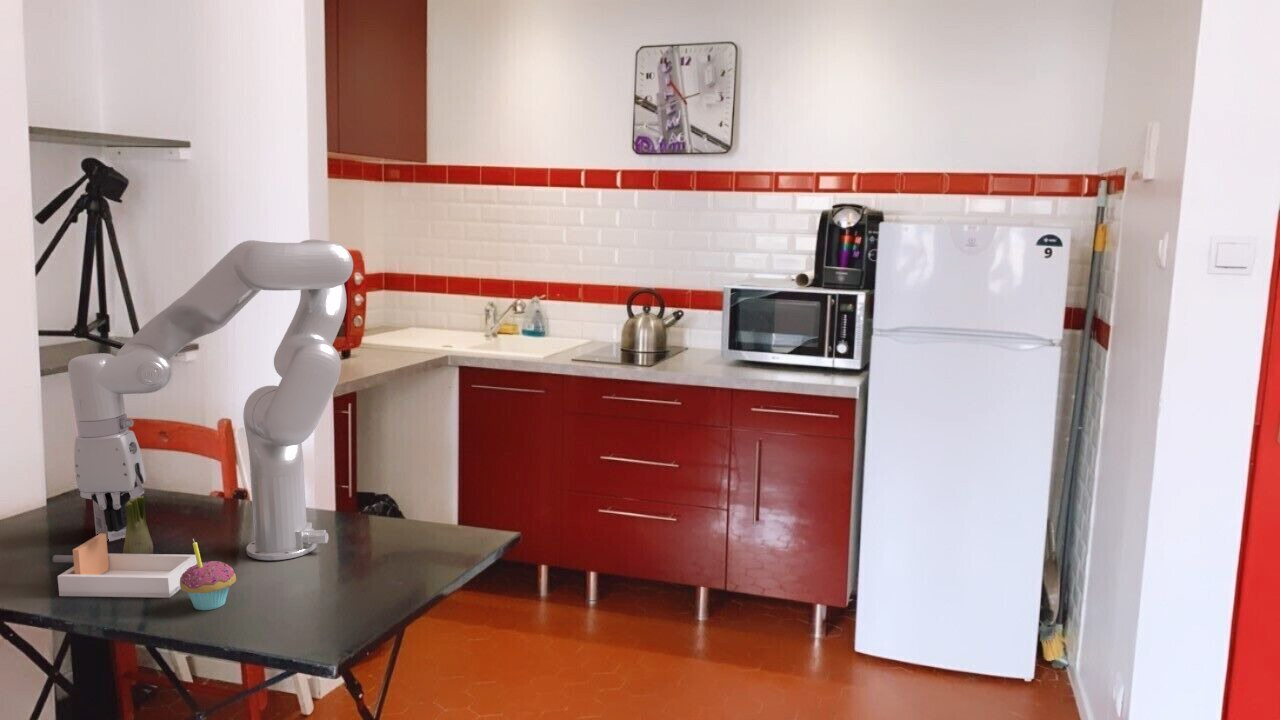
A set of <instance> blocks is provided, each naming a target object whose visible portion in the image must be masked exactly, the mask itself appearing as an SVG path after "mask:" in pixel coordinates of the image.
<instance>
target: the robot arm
mask: <svg viewBox="0 0 1280 720" xmlns="http://www.w3.org/2000/svg"><path fill="white" fill-rule="evenodd" d="M353 270H354V260H353V257H352V255H351V253H350V251H349V250H348V249H347V248H346V247H345V246H343V245H342V244H340V243H338V242H334V241H329V240H321V239H306V240H303V241H300V242H269V241H263V240H255V239H253V240H251V239H250V240H245V241H243V242H240V243H239V244H236V245H235V246H234V247H233V248H232V249H231V250H230V251H229V252H227V253H226V255H224V256H223V257H222V258H221V259H220V260H219V261H218V262H217V263H216V264H215V265H214V266H213V267H212V268H210V269H209V271H208V272H206V274H205V275H203V276H202V277H201V278H200V279H199V280H198V281H197V282H196V283H195V284H194V285H193V286H191V288H190V289H188V290H187V291H186V292H185V293H184V294H183V295H182V296H180V297H178V298H177V299H176V300H175V301H173V302H172V303H171V304H170V305H168V306H167V307H166V308H164V309H163V310H162V311H160V312H159V313H158V314H157V315H155V316H154V317H152V318H151V319H150V320H149V321H147V322H146V323H145V324H144V325H143V326H142V327H141V328H140V329H139V330H138V331H137V332H136V333H135V334H134V335H133V336H131V337H130V338H129V339H128V340H127V341H126V342H125V344H123V346H122V347H121V348H120V349H119V350H118V352H117V353H116V355H113V354H111V353H105V352H103V353H102V352H99V353H89V354H83V355H78V356H76V357H73V358H71V360H69V362H68V364H67V365H68V366H67V371H68V378H69V384H70V390H71V397H72V403H73V409H74V410H73V412H74V415H75V423H76V430H77V436H76V437H75V440H74V450H73V458H74V459H73V460H74V463H73V464H74V474H75V481H76V486H77V488H78V490H79V492H80V493H79V496H80V497H81V498H83V499H89V500H92V501H93V500H94V501H95V502H96V503H97V504H98V505H99V507H100V509H102V510H104V515H105V522H106V525H107V528H108V532H113V531H115V532H118V531H120V530H121V529H123V528H124V527H126V526H127V513H126V507H125V505H126V504H127V503H128V501H129V500H130V499H131V498H134V497H138V496H140V495H141V496H143V495H144V494H145V489H144V487H143V484H145V483H146V479H147V475H146V469H145V464H144V460H143V455H142V452H141V448H140V445H139V442H138V440H137V438H136V434H135V432H134V431H133V430H130V429H129V430H128V427H129V428H133V427H134V424H135V421H134V419H132V418H128V415H127V414H126V408H125V407H126V406H125V399H124V395H133V394H135V395H136V394H137V395H139V394H144V395H145V394H152V393H156V392H158V391H161V390H163V388H165V387H167V385H168V384H169V383H170V381H171V379H172V375H173V368H172V364H171V362H170V360H171V359H172V358H173V357H174V356H176V355H177V354H178V353H179V352H180V351H181V350H182V349H184V348H185V347H186V346H188V345H189V344H190V343H192V342H194V341H195V340H197V339H199V338H201V337H204V336H206V335H207V336H208V335H210V334H213V333H216V331H218V330H220V329H222V328H224V327H225V326H226V325H227V324H229V322H230V321H231V320H232V319H233V318H234V317H235V316H236V315H237V314H238V313H240V311H241V310H242V309H243V308H244V307H245V306H246V305H247V304H248V303H250V301H251V300H252V299H253V298H254V297H256V295H258V294H259V292H261V291H300V298H299V303H298V305H297V308H296V310H295V313H294V315H293V317H292V320H291V322H290V323H289V326H288V327H287V330H286V332H285V333H284V335H283V337H282V340H281V341H280V344H279V345H278V347H277V348H276V351H275V353H274V357H273V367H274V369H275V372H276V373H277V375H278V376H279V377H280V378H281V379H280V381H279V384H278V385H263V386H261V387H258V388H257V389H255V390H254V391H253V392H251V393H250V395H249V396H248V397H247V399H246V401H245V404H244V408H243V416H242V417H243V424H244V426H243V427H244V431H245V436H246V442H247V448H248V458H249V474H250V475H249V476H250V488H251V490H250V492H251V503H252V505H251V506H252V507H251V508H252V519H253V520H252V521H253V533H254V534H253V535H254V539H253V541H251V542H249V544H247V546H246V549H245V550H246V555H247V556H248V557H250V558H251V559H255V560H260V561H283V560H290V559H294V558H299V557H301V556H302V557H303V556H305V555H307V554H309V553H311V552H312V551H314V550H315V549H316V548H317V544H328V542H329V533H328V532H327V530H326V529H314V528H313V522H311V521H310V522H309V521H307V520H308V519H307V505H306V504H307V503H306V502H307V501H306V489H305V464H304V463H305V462H304V452H303V446H302V443H303V442H305V441H306V440H307V439H309V437H310V436H312V434H313V433H314V431H315V429H316V428H317V426H318V424H319V422H320V419H321V418H322V416H323V414H324V412H325V411H326V408H327V406H328V403H329V401H330V399H331V398H332V395H333V393H334V391H335V389H336V386H337V385H338V382H339V380H340V376H341V370H342V361H341V357H340V355H339V352H338V350H337V349H336V348H335V346H333V344H334V343H335V340H336V338H337V335H338V333H339V330H340V328H341V326H342V324H343V321H344V320H345V319H344V318H345V314H346V310H347V303H348V302H347V300H348V299H347V292H346V287H345V283H346V282H347V281H348V280H349V279H350V278H351V276H352V274H353Z"/></svg>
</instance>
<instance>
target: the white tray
mask: <svg viewBox="0 0 1280 720" xmlns="http://www.w3.org/2000/svg"><path fill="white" fill-rule="evenodd" d="M108 562H109V569H108V570H107V571H105V572H104V573H102V574H101V575H90V574H75V570H74V565H73V566H72V567H70V568H69V569H67V570H65V571H63V572H62V573H60V574H59V575H57V584H58V594H59V597H94V598H95V597H98V598H99V597H102V598H103V597H105V598H106V597H107V598H108V597H109V598H111V597H112V598H161V599H162V598H169V599H170V598H171V597H172V596H174V595H175V594H176V593H177V592H179V591H180V590H182V589H181V587H180V577H181V576H182V574H183V573H184V572H185V571H187V570H186V569H188V568H190V567H192V566H194V565H197V560H196V556H195V554H175V553H173V554H171V553H170V554H167V553H165V554H164V553H163V554H161V553H160V554H159V553H153V554H123V553H108Z"/></svg>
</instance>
